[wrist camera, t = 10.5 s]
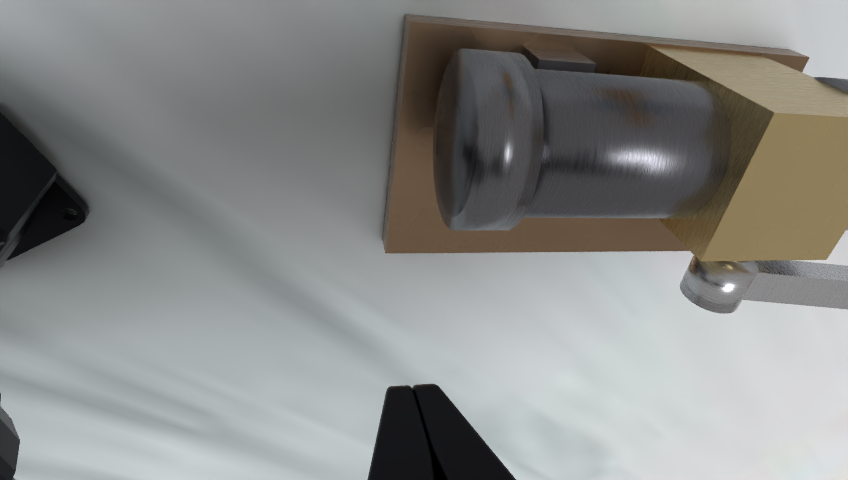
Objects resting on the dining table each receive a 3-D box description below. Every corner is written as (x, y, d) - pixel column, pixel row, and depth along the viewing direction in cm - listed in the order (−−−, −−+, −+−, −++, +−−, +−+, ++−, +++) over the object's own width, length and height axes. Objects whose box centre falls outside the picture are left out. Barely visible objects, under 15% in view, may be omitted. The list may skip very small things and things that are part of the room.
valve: (382, 239, 23) (412, 370, 17) (405, 11, 18) (459, 84, 12) (699, 238, 27) (813, 346, 21) (791, 47, 22) (977, 117, 16)
